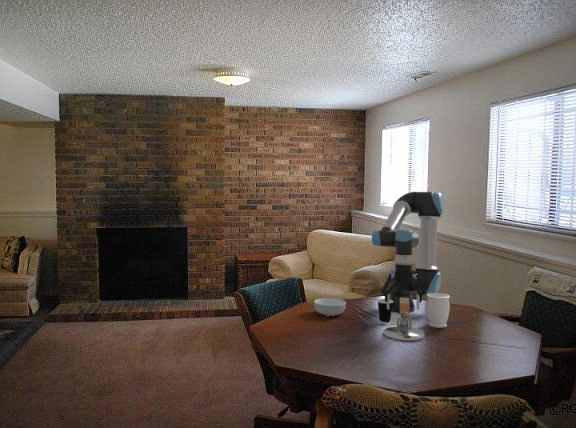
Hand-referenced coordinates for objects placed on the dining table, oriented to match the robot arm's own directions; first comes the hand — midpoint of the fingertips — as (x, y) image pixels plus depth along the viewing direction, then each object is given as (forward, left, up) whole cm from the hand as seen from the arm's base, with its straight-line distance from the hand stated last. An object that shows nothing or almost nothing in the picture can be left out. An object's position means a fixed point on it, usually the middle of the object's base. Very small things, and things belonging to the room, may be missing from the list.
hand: (402, 309), depth 223 cm
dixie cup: (-16, -6, -11) cm, 20 cm away
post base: (+4, 0, -11) cm, 12 cm away
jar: (-13, +19, -11) cm, 26 cm away
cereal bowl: (-29, -33, -11) cm, 45 cm away
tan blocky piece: (+4, 0, -8) cm, 9 cm away
